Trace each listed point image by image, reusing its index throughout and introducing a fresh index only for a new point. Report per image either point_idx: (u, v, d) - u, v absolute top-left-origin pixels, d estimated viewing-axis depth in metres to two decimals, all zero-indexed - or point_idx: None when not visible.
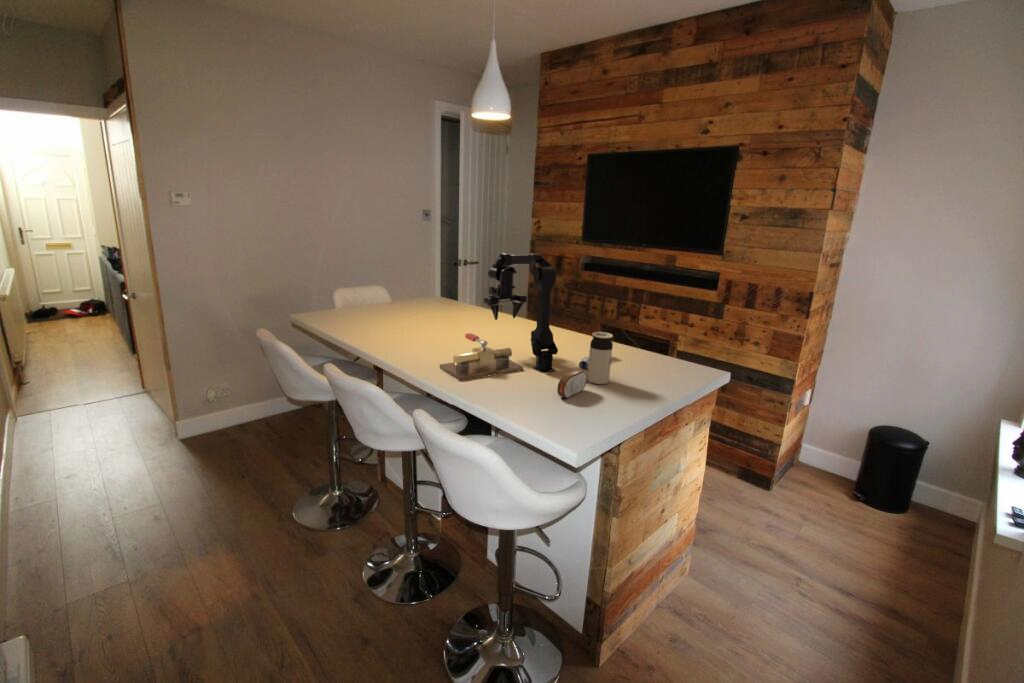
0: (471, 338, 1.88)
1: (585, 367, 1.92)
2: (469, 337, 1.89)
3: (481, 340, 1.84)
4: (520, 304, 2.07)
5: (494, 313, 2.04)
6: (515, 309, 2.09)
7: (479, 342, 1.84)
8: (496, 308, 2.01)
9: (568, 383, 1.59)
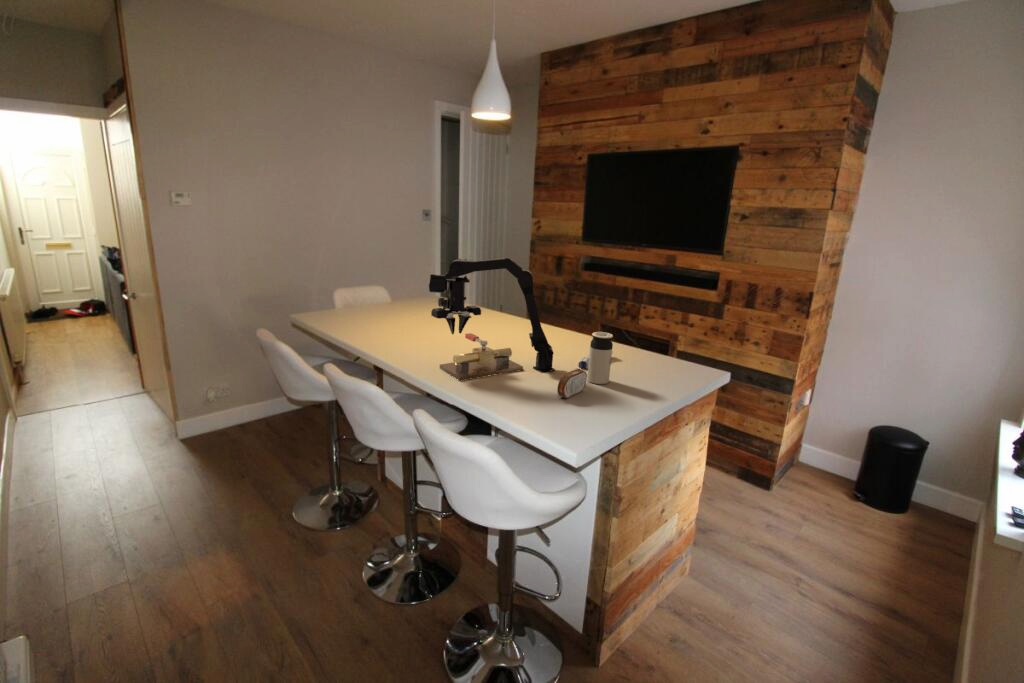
0: (471, 338, 1.88)
1: (585, 367, 1.92)
2: (469, 337, 1.89)
3: (481, 340, 1.84)
4: (466, 318, 1.83)
5: (450, 327, 1.83)
6: (461, 323, 1.85)
7: (479, 342, 1.84)
8: (452, 321, 1.80)
9: (568, 383, 1.59)
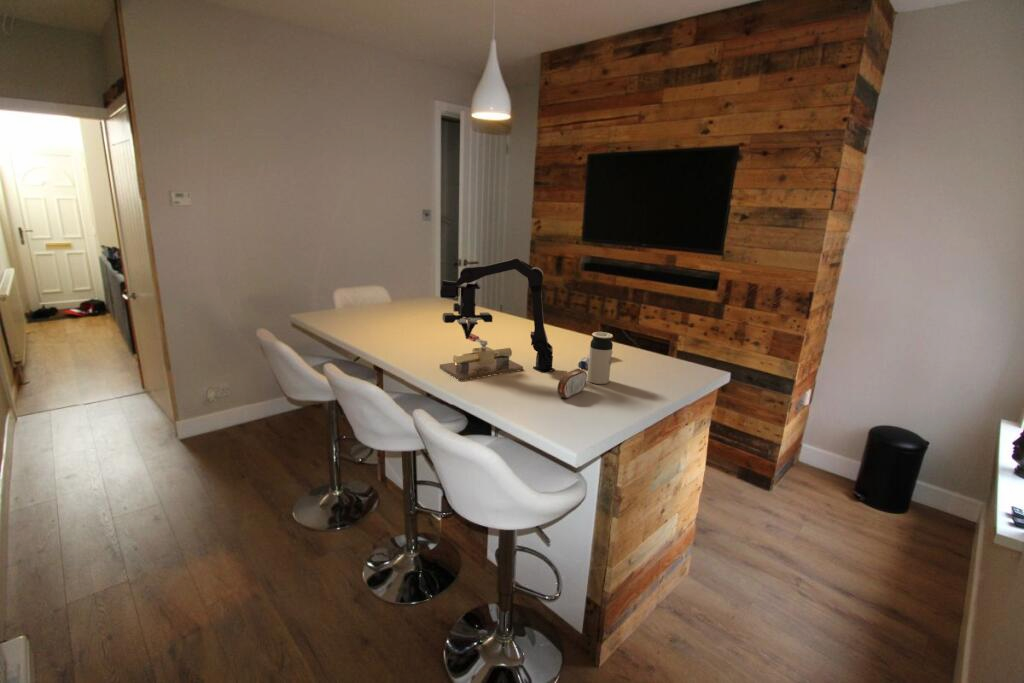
0: (471, 338, 1.88)
1: (584, 367, 1.92)
2: (469, 337, 1.89)
3: (481, 340, 1.85)
4: (472, 324, 1.85)
5: (464, 332, 1.87)
6: (468, 329, 1.87)
7: (479, 342, 1.84)
8: (464, 326, 1.85)
9: (568, 383, 1.59)
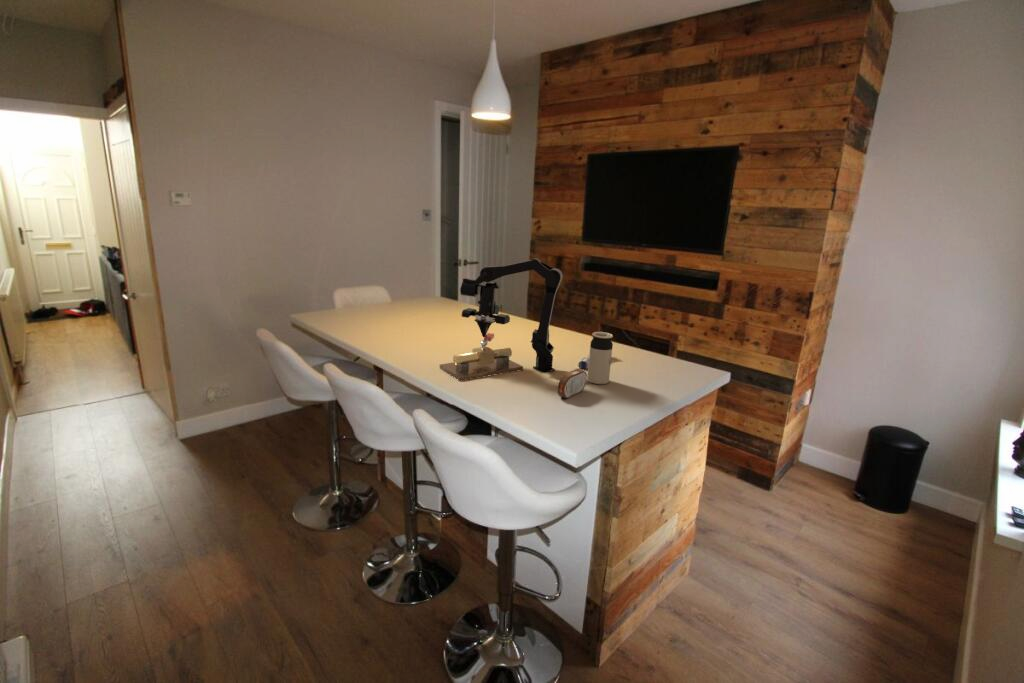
0: None
1: (585, 367, 1.91)
2: None
3: (485, 340, 1.85)
4: (484, 323, 1.87)
5: None
6: None
7: None
8: (478, 324, 1.89)
9: (568, 383, 1.59)
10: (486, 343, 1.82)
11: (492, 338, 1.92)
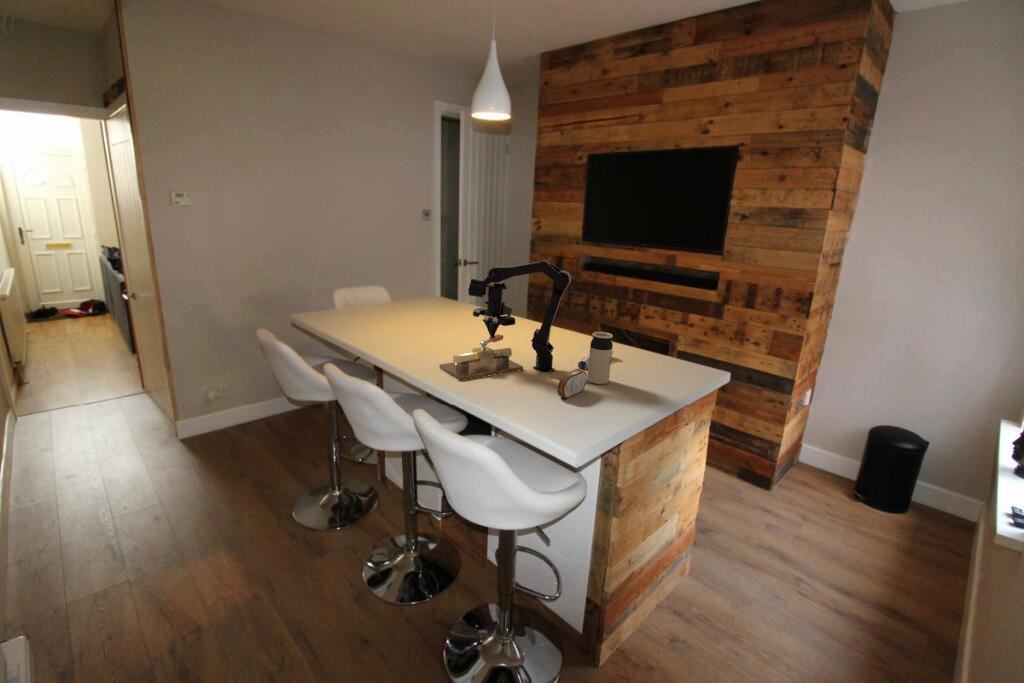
0: None
1: (584, 367, 1.92)
2: None
3: (487, 340, 1.84)
4: (490, 323, 1.87)
5: None
6: None
7: None
8: (485, 324, 1.89)
9: (568, 383, 1.59)
10: (485, 343, 1.82)
11: (499, 339, 1.90)
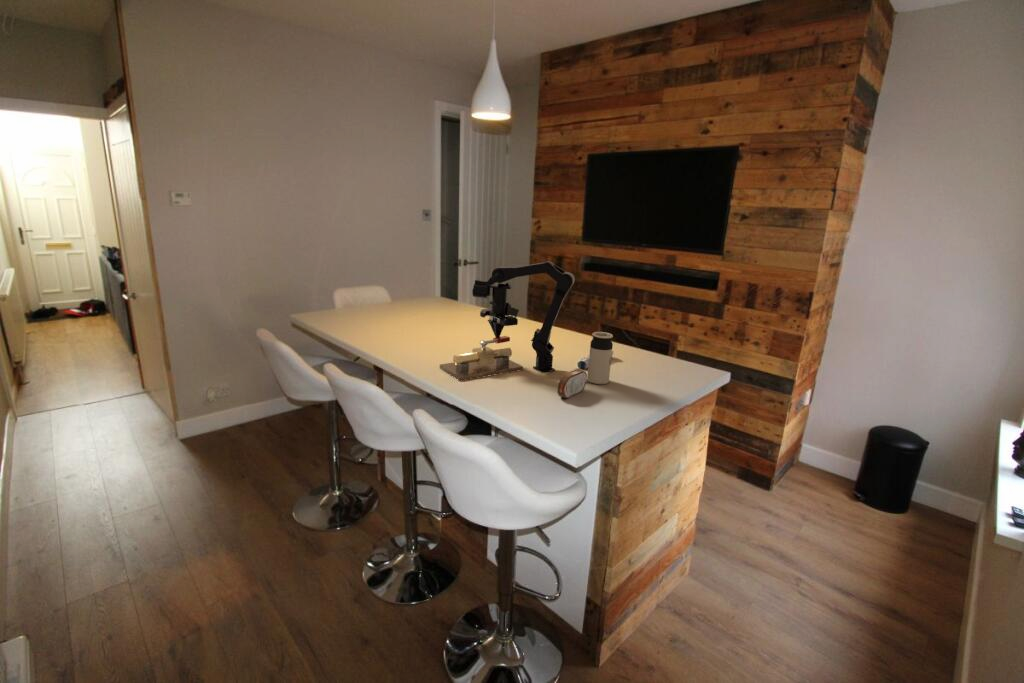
0: None
1: (584, 367, 1.92)
2: None
3: (488, 341, 1.84)
4: (494, 323, 1.87)
5: None
6: None
7: None
8: (490, 324, 1.90)
9: (568, 383, 1.59)
10: (484, 343, 1.81)
11: (504, 341, 1.88)
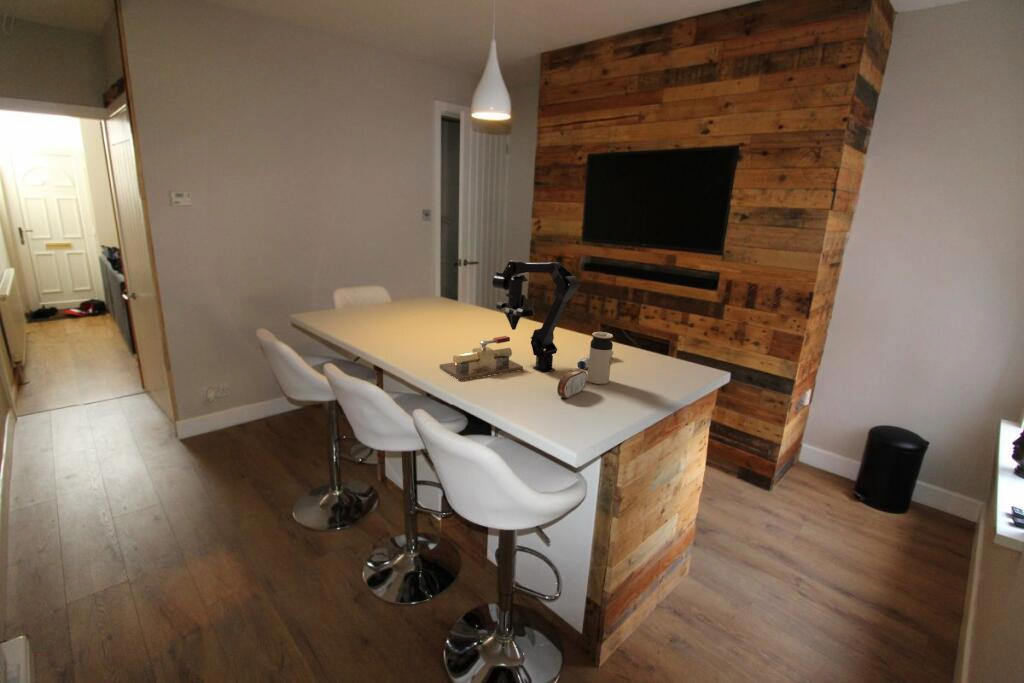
0: None
1: (583, 367, 1.92)
2: None
3: (488, 341, 1.84)
4: (510, 315, 1.92)
5: None
6: None
7: None
8: (506, 316, 1.95)
9: (568, 383, 1.59)
10: (484, 343, 1.81)
11: (504, 341, 1.88)
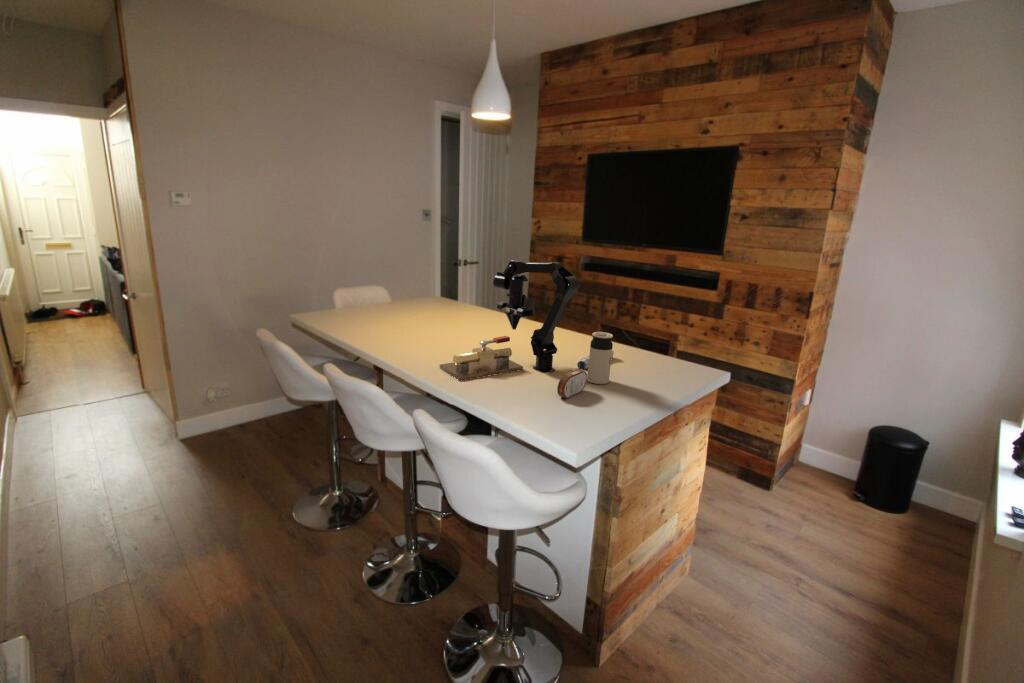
0: None
1: (583, 367, 1.91)
2: None
3: (488, 341, 1.84)
4: (511, 315, 1.93)
5: None
6: None
7: None
8: (507, 315, 1.95)
9: (568, 383, 1.59)
10: (484, 343, 1.81)
11: (504, 341, 1.88)
